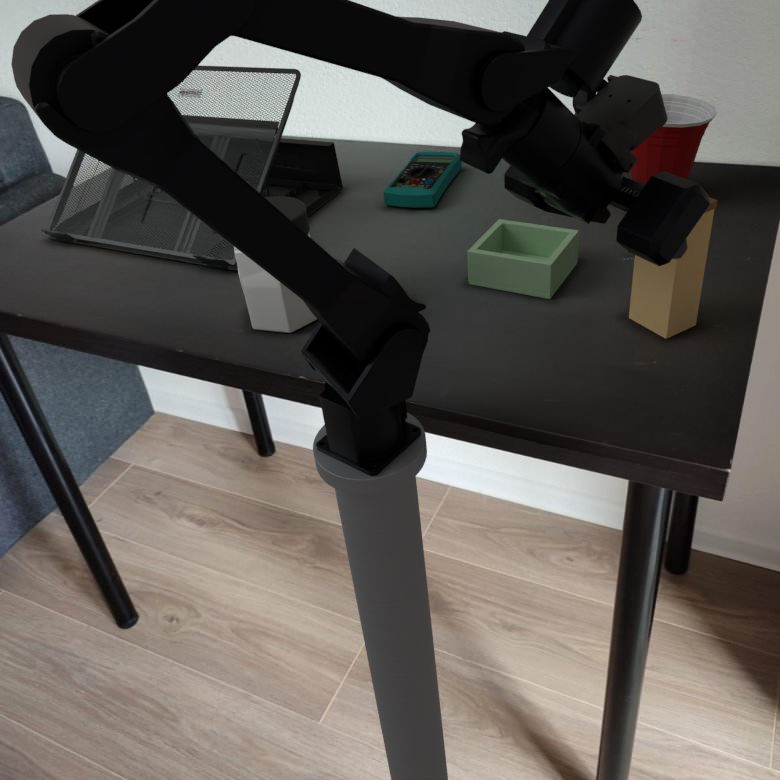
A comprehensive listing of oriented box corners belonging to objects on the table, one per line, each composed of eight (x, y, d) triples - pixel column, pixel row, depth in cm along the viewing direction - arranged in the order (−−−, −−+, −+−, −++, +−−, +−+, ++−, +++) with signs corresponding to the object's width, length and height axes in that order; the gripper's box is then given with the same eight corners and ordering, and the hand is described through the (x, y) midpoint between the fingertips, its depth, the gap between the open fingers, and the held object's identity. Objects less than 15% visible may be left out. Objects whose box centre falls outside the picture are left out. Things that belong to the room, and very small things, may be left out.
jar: (247, 300, 89) (224, 202, 82) (318, 287, 90) (300, 189, 82) (252, 341, 82) (226, 237, 74) (328, 326, 82) (310, 222, 75)
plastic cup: (701, 220, 94) (716, 120, 87) (609, 215, 97) (616, 118, 90) (705, 185, 102) (719, 91, 94) (620, 181, 105) (628, 90, 98)
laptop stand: (41, 243, 107) (-12, 110, 97) (172, 169, 127) (139, 51, 116) (232, 277, 94) (194, 126, 83) (346, 188, 113) (327, 56, 102)
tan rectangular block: (666, 340, 74) (683, 213, 67) (627, 317, 78) (639, 195, 70) (697, 325, 76) (718, 200, 68) (657, 304, 80) (672, 183, 72)
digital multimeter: (382, 209, 106) (380, 188, 104) (416, 168, 117) (414, 148, 115) (433, 212, 103) (432, 191, 102) (463, 169, 114) (462, 150, 112)
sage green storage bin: (550, 299, 82) (551, 265, 80) (468, 284, 87) (466, 251, 84) (577, 263, 88) (579, 230, 86) (499, 250, 92) (498, 218, 90)
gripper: (710, 72, 51) (790, 186, 61) (530, 32, 64) (621, 130, 75) (610, 220, 53) (705, 305, 63) (456, 150, 66) (555, 230, 77)
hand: (643, 234), depth 69 cm, fingers open, 9 cm apart
